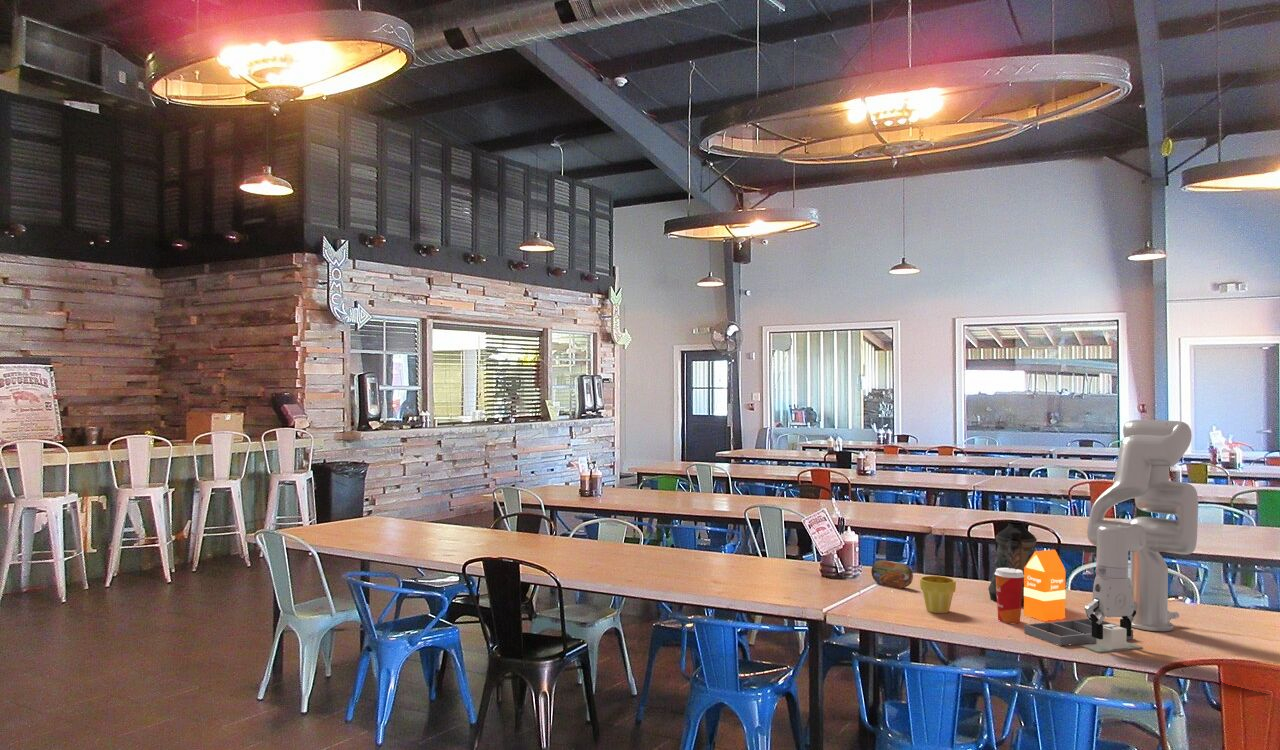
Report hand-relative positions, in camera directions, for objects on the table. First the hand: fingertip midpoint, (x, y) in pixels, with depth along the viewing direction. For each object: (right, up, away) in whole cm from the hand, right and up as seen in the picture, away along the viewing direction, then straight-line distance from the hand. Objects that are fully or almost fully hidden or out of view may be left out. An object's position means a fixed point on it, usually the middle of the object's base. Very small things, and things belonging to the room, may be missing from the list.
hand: (1111, 636), depth 242 cm
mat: (0, -3, 0) cm, 3 cm away
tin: (-39, -3, +71) cm, 81 cm away
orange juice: (-4, -3, +31) cm, 32 cm away
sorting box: (-4, -3, +11) cm, 12 cm away
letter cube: (0, -3, 0) cm, 3 cm away
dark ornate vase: (-4, -4, +50) cm, 51 cm away
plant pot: (-34, -3, +37) cm, 50 cm away
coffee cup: (-17, -3, +26) cm, 31 cm away
